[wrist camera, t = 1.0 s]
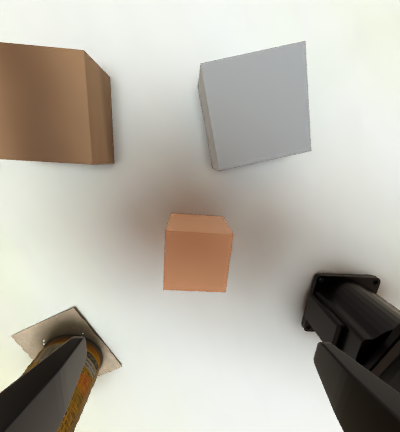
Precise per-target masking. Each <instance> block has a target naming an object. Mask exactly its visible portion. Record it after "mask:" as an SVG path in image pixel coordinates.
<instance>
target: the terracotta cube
mask: <svg viewBox="0 0 400 432" xmlns="http://www.w3.org/2000/svg"><path fill="white" fill-rule="evenodd" d="M232 240H233V233H232V231H231V230H230V228H229V226H228V224H227V223H226V221H225V219H224V217H223V216H209V215H194V214H178V213H171V216H170V219H169V222H168V225H167V228H166V232H165V259H164V285H163V290H181V291H206V292H226V286H227V278H228V270H229V263H230V255H231V248H232Z"/></svg>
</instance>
